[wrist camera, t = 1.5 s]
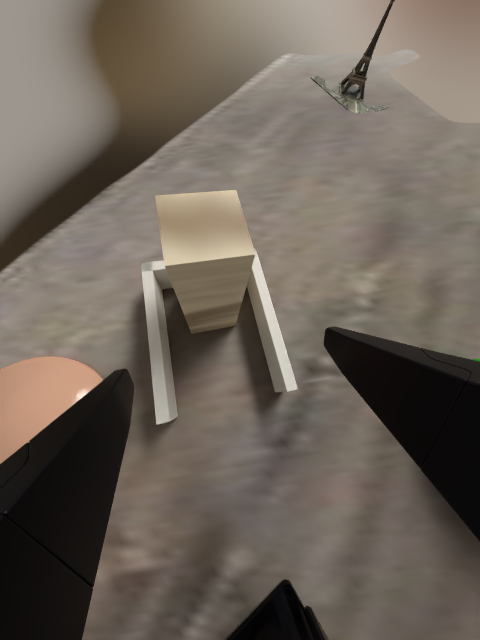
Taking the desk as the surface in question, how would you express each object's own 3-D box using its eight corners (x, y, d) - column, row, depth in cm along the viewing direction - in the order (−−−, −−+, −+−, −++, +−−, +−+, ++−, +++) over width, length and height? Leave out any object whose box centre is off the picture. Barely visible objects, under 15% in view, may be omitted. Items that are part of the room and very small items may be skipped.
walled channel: (283, 390, 22) (297, 388, 19) (167, 419, 20) (156, 424, 16) (250, 269, 27) (255, 249, 23) (152, 283, 25) (141, 263, 21)
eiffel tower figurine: (308, 81, 45) (343, -39, 33) (340, 73, 48) (384, -41, 36) (355, 121, 42) (415, 5, 29) (387, 110, 45) (454, 0, 32)
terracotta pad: (-44, 589, 15) (-54, 597, 14) (-82, 412, 18) (-91, 412, 18) (143, 460, 19) (141, 462, 18) (85, 332, 22) (81, 330, 21)
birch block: (235, 325, 24) (255, 254, 12) (191, 333, 23) (164, 265, 11) (226, 287, 26) (236, 190, 14) (185, 293, 25) (155, 195, 13)
